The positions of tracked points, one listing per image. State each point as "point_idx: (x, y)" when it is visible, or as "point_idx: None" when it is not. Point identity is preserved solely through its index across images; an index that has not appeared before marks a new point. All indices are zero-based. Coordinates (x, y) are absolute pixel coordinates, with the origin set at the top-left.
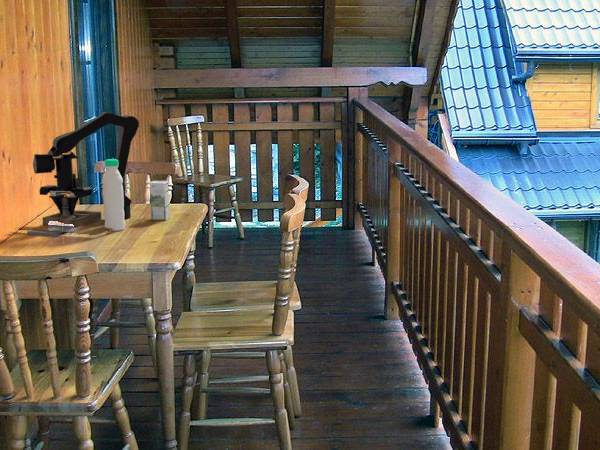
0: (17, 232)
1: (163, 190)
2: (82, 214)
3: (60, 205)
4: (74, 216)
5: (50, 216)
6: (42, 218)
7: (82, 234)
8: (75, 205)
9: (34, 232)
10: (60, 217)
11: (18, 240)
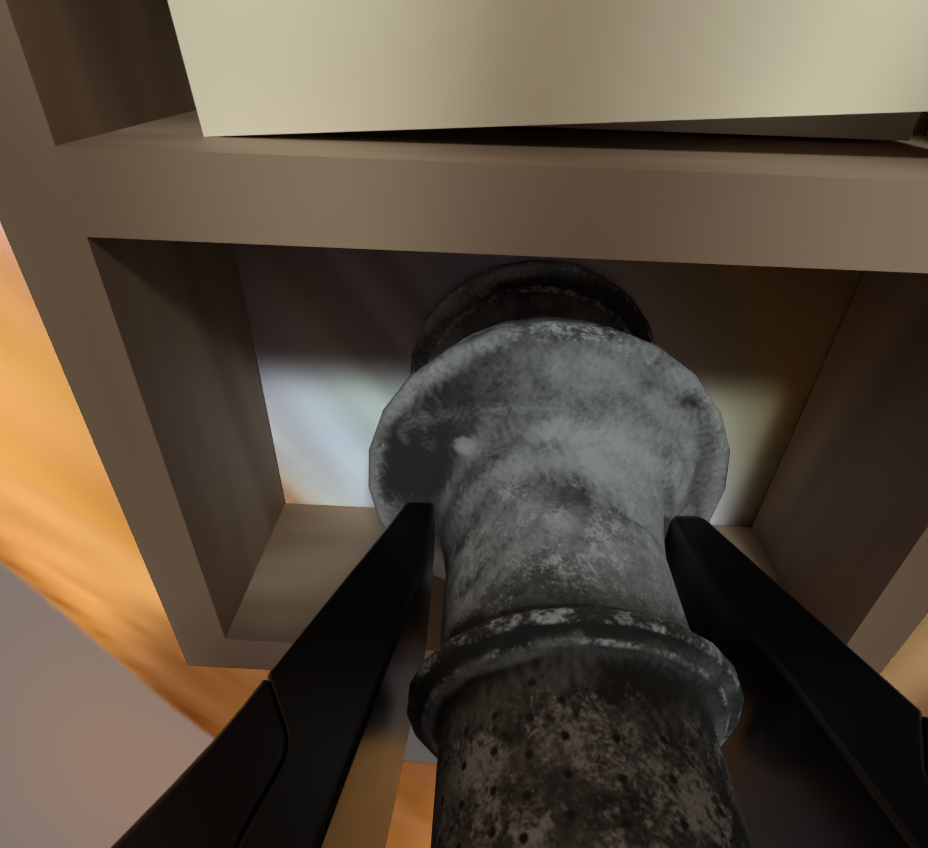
0: (171, 691)
1: None
2: (893, 245)
3: (385, 795)
4: (690, 423)
5: (200, 550)
6: (197, 651)
7: (906, 664)
8: (925, 734)
9: (409, 757)
10: (441, 562)
11: (423, 833)
